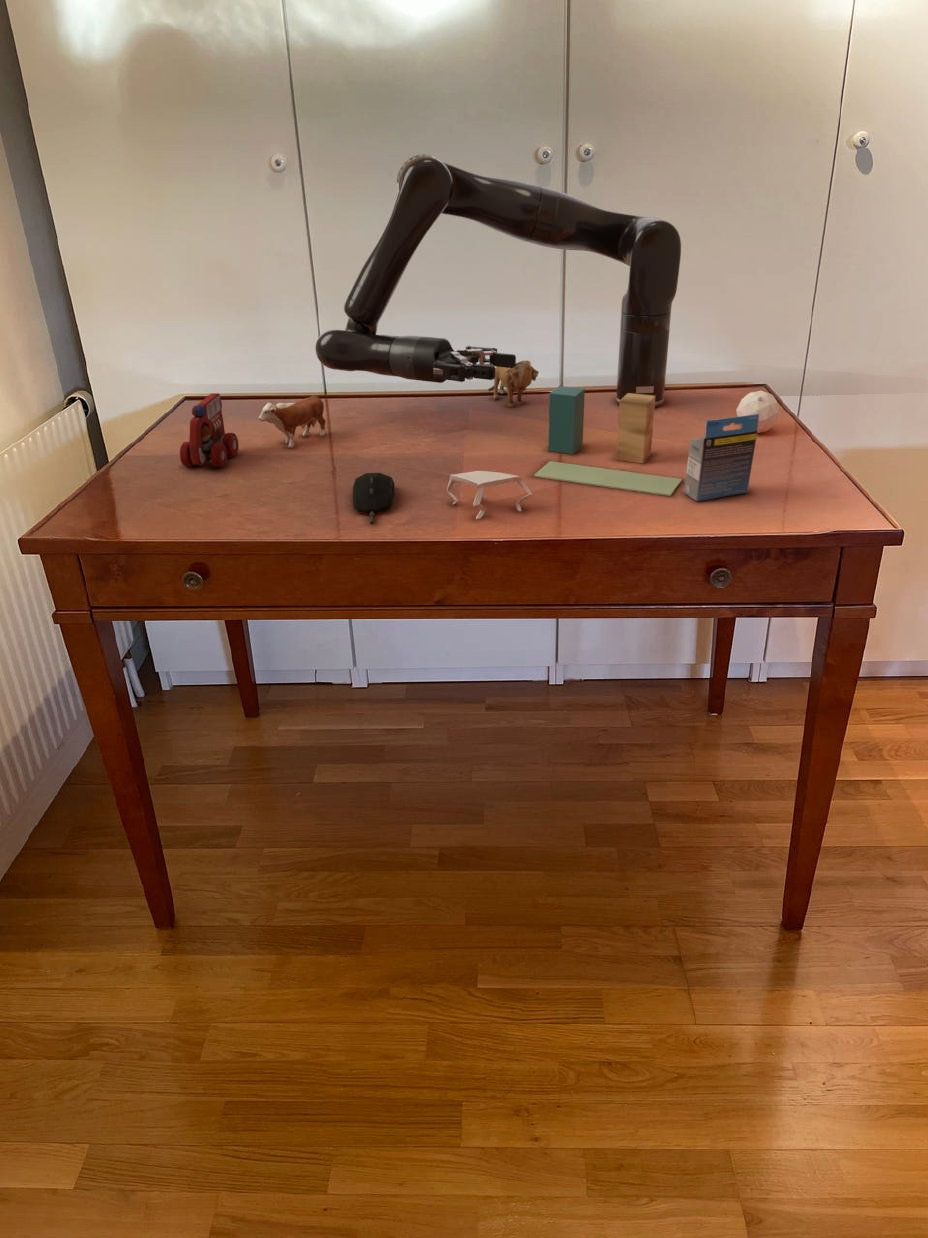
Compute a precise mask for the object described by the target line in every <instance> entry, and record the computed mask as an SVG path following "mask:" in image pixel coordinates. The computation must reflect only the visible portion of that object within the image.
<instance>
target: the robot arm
mask: <svg viewBox="0 0 928 1238" xmlns="http://www.w3.org/2000/svg"><path fill="white" fill-rule="evenodd" d="M396 189H397V196H396V200H395V203H394V206H393V209H392V212H391V213H390V214H391V215H390V217H389V220H388V222H387V224H386V226H385V227H384V228H385V229H384V230H383V232H382V234H381V236H380V238H379V239H378V241H377V243H376V244H375V246H374V248H373V249H372V251H371V253H370V254H369V255H368V257H367V258H366V260H365V261H364V263H363V265H362V267H361V268H360V270H359V273H358V274H357V276H356V278H355V280H354V282H353V283H352V286H351V288H350V290H349V292H348V295H347V296H346V298H345V301H344V303H343V309H342V310H343V312H344V314H345V316H346V317H347V318H348V319H347V321H346V325H345V328H344V329H338V328H333V329H328V330H326V331H324V332H322V334H320V335H319V337H318V338H317V340H316V343H315V346H314V347H315V355H316V358H317V359H318V361H319V362H320V363H321V364H322V365H323V366H324V367H325V368H327V369H330V370H335V371H343V372H355V371H356V372H367V373H372V374H377V375H381V376H389V377H397V378H402V379H405V380H411V381H420V382H427V383H428V382H429V383H436V384H437V383H438V384H443V383H445V382H446V381H453V382H459V383H463V382H466V380H468V381H470V380H471V381H472V380H473V379H478V380H487V381H493V380H494V379H495V368H496V367H506V368H509V369H510V368H513V367H515V366H516V363H517V356H516V355H515V354H513V353H503V352H498V348H496V347H482V346H471V345H467V346H465V347H463V348H462V347H461V348H457V350H454V348H453V346H452V344H451V342H450V341H449V340H448V339H446V338H443V337H433V336H422V335H421V336H420V335H395V334H378V328H379V325H380V321H381V319H382V318H383V315H384V314H385V312H386V310H387V308H388V307H389V305H390V302H391V300H392V298H393V296H394V294H395V292H396V290H397V288H398V286H399V284H400V282H401V280H402V277H403V275H404V273H405V271H406V269H407V268H408V266H409V264H410V261H411V260H412V258H413V256H414V254H415V253H416V251H417V249H418V247H419V246H420V244H421V243H422V241H423V239H424V238H425V237H426V235H427V233H429V231H430V229H431V228H432V226H434V223H436V222H437V220H438V218H439V217H440V216H441V215H446V216H451V217H457V218H462V219H467V220H470V221H472V222H475V223H478V224H480V225H482V226H485V227H487V228H489V229H490V230H492V231H495V232H497V233H500V234H502V235H505V236H507V237H510V238H513V239H515V240H519V241H521V242H526V243H529V244H533V245H537V246H541V247H545V248H551V249H555V250H556V249H557V250H566V251H581V252H590V253H594V254H599V255H601V256H604V257H607V258H609V259H613V260H615V261H617V262H619V263H622V264H624V265H627V266H628V267H629V272H628V273H629V274H628V283H627V289H626V292H625V293H624V295H622V298H621V305H620V306H621V307H620V308H621V309H620V310H621V311H620V325H619V326H620V329H619V343H618V344H619V345H618V361H617V377H616V393H615V403H616V404H617V405H619V403H620V400H621V399H622V398H623V397H624V396H625V395H626V394H628V393H633V394H643V395H653V396H655V407H654V408H657V407H660V406H662V405H663V404H664V403H665V390H666V389H665V387H666V379H667V377H666V376H667V365H668V355H669V352H668V351H669V340H670V329H671V317H672V307H673V302H674V299H675V297H676V295H677V290H678V282H679V276H680V275H679V274H680V268H681V267H680V265H681V257H682V239H681V236H680V233H679V231H678V230H677V228H676V227H675V225H673V224H672V223H671V222H669V221H667V220H664V219H661V218H659V217H658V218H657V217H653V216H648V215H647V216H645V215H635V214H628V213H622V212H617V211H611V210H606V209H604V208H599V207H598V206H595V205H593V204H591V203H589V202H587V201H584V200H583V199H580V198H578V197H575V196H574V195H570V194H568V193H565V192H562V191H559V190H556V189H553V188H549V187H545V186H541V185H537V184H534V183H533V184H532V183H527V182H524V181H523V182H522V181H518V180H513V179H507V178H499V177H494V176H493V177H490V176H487V175H481V174H478V173H474V172H471V171H468V170H465V169H463V168H460V167H457V166H455V165H453V164H450V163H448V162H445V161H443V160H441V159H439V158H437V157H435V156H432V155H429V154H425V153H423V154H416V155H413V156H411V157H410V158H408V159H407V160H406V161H404V163H402V165H401V166H400V168H399V170H398V173H397V176H396ZM486 356H489V358H486Z"/></svg>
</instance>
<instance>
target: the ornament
mask: <svg viewBox="0 0 928 1238" xmlns="http://www.w3.org/2000/svg"><path fill="white" fill-rule="evenodd" d="M735 410H736V411H735V412H736V417H739V416H747V415H754V414H759V419H758V428H757V434H758V433H764V432H768V431H769V430H770V429H771V428H772V427H773V426H775V424H776V422H777V420H778V418H779V416H780V415H781V413H780V408H779V404H778V401H777V399H776V397H775V396H774V395H773V394H771V393H770V392H766V391H764V390H757V391H751V392H748V393H747V394H746V395H745V396H744V397H742V398H741V400H740V401H739V404H738V405H737V408H736V409H735Z"/></svg>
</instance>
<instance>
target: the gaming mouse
mask: <svg viewBox="0 0 928 1238" xmlns="http://www.w3.org/2000/svg"><path fill="white" fill-rule="evenodd" d="M395 489H396V488H395V481H394V479H393V477H392V476H390V475H387V474H384V473H383V472H365V473H363V474H361V475H360V476H358V477H356V478H355V479H354V482H353V484H352V500H353V501H352V502H353V503H352V504H353V510H355V511H356V512H357V513H358V514H368V515H369V518H370V521H369V523H370V524H371V525H374V518H375V514H381V513H385V512H388V511H389V510H390V509H392V508H393V504H394V498H395V494H396V492H395V491H396V490H395Z"/></svg>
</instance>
